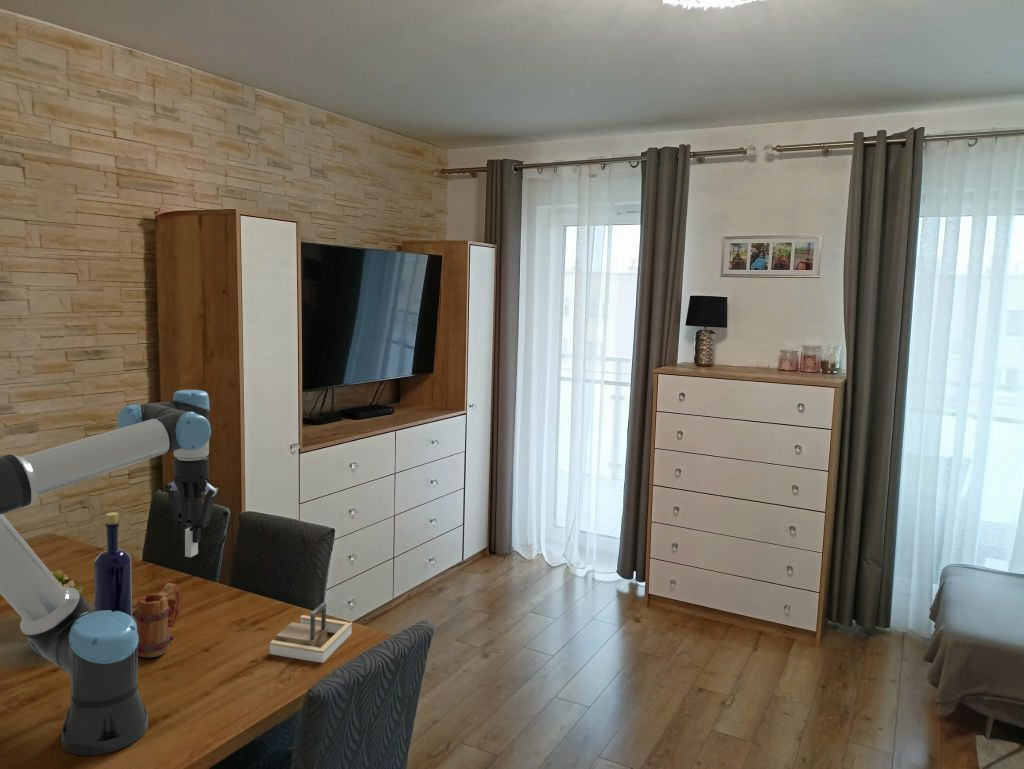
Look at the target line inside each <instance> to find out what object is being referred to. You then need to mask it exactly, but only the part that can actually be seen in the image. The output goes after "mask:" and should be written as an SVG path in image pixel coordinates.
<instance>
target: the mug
mask: <svg viewBox="0 0 1024 769" xmlns="http://www.w3.org/2000/svg"><path fill="white" fill-rule="evenodd" d="M181 605H182V592H181V590H180V587H179V586H178V585H177V583H172V582H171V583H170V582H167V583H166V584H165V585H164V586H163V588H162V590H161V591H160V592H159V593H158V592H157V593H155V594H154V593H148V594H145V596H141V597H139V599H138V601H137V608H136V609H135V610H134V611H132V617H134V619H135V620H136V626H137V633H138V638H139V639H138V657H142V658H155V657H160V656H162V655H163V654H165V653H166V652H167V651H168V650H169V645H170V644H171V642H172V641H173V640H174V636H173V634H172V633H171V631H170V630H169V628H173V627H175V625H176V622H177V620H178V617H179V615H180V612H181V607H182V606H181ZM168 627H169V628H168Z"/></svg>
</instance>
